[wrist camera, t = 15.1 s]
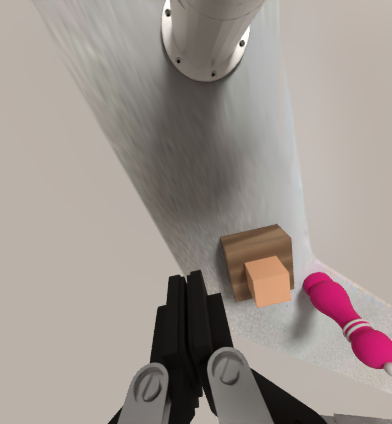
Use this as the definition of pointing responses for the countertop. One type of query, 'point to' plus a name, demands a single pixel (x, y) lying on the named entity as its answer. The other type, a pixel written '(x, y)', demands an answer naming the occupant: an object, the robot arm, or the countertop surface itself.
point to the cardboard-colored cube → (268, 281)
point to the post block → (255, 255)
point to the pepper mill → (350, 322)
